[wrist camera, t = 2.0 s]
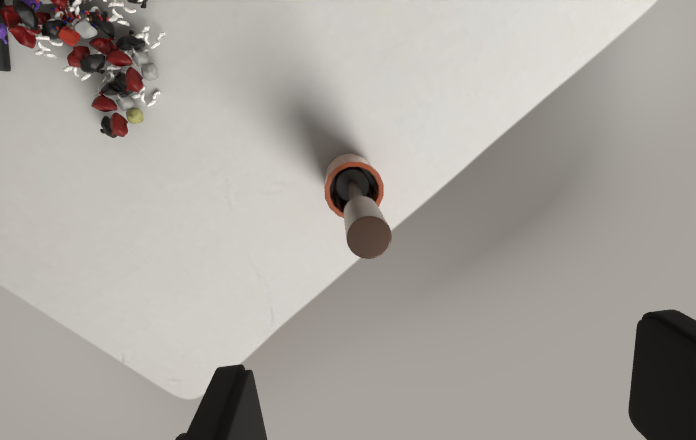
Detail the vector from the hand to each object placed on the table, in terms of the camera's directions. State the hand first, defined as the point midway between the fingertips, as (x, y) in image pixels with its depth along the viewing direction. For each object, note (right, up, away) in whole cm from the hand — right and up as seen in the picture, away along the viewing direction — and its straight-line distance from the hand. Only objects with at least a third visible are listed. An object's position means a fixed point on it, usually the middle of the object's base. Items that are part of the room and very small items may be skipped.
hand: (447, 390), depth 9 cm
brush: (-2, +8, +28) cm, 30 cm away
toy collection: (-25, +21, +25) cm, 41 cm away
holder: (-2, +8, +29) cm, 30 cm away
